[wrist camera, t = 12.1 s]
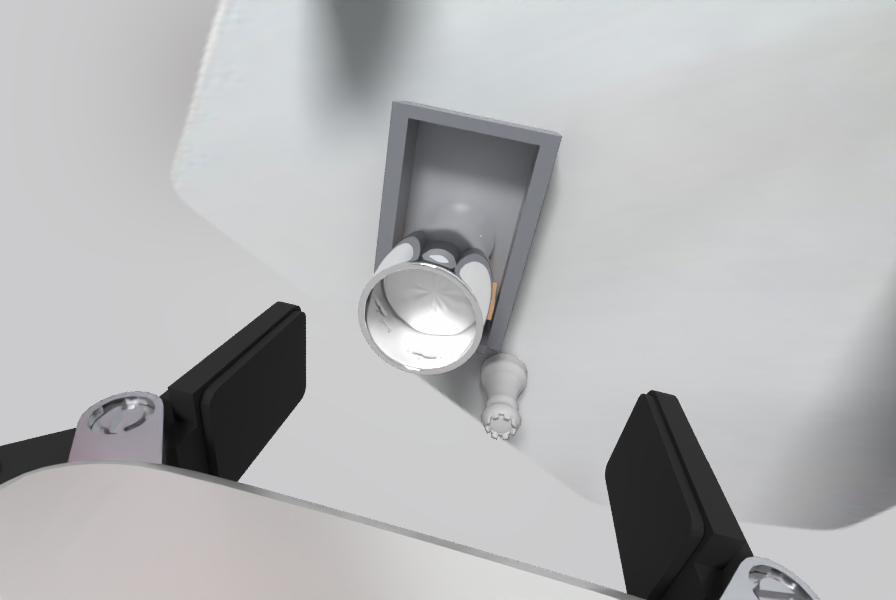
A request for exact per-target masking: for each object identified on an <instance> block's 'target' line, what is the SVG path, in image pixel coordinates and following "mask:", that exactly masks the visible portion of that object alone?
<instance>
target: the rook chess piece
mask: <svg viewBox="0 0 896 600" xmlns="http://www.w3.org/2000/svg"><path fill="white" fill-rule="evenodd" d="M526 381H527V369H526V366H525V364H524V363H523V362H522V361H521V360H520V359H519V358H518V357H515V356H513V355H511V354H502V353H500V354H496V355H492V356H490V357H489V358H488V359H486V360H485V361H484V363H483V365H482V367H481V382H482V385H483V387H484V389H485V390H486V392H487V393H488V400H487V402H486V404H485V410H484V411H483V413H482V415H481V421H482V424H483V426H484V427H485V430H486V432H487V433H490V432H491V433H492V435H491V437H492V438H494V439H497V438H498V436H502V438H503V440H507V439H509V435H510V434H511V435H512V436H514V435H515V433H516V431H517V430H518V428H519V427H520V425H521V417H520V415H519V413H518V404H517V402H516V401H517V396H518V395H519V394H520V393H521V392H522V391H523V389H524V387H525V386H526Z"/></svg>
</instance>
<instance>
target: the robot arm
mask: <svg viewBox="0 0 896 600" xmlns="http://www.w3.org/2000/svg"><path fill="white" fill-rule="evenodd" d="M305 389H306V315H305V313H304V312H301V309H300V307H299V306H296V305H293V304H288V303H284V302H276V303H275V304H274V305H272V306H271V307H270V308H269V309H267V310H266V311H265V312H264V313H262V314H261V315H260V316H258V317H257V318H256V319H254V320H253V321H252V322H251V323H249V324H248V325H247V326H246V327H244V328H243V329H242V330H241V331H239V332H238V333H237V334H235V335H234V336H233V337H232V338H230V339H229V340H228V341H227V342H225V343H224V344H223V345H221V346H220V347H219V348H218V349H216V350H215V351H214V352H213V353H211V354H210V355H209V356H207V357H206V358H205V359H204V360H202V361H201V362H200V363H199V364H197V365H196V366H195V367H193V368H192V369H191V370H190V371H188V372H187V373H186V374H184V375H183V376H182V377H181V378H179V379H178V380H177V381H176V382H174V383H173V384H172V385H170V386H169V387H168V390H167V391H166V392H165V393H164V394H162V395H161V396H160V397H158V396H157V395H155V394H152V393H149V392H140V391H135V392H125V393H121V394H117V395H113V396H111V397H108V398H106V399H104V400H101V401H99V402H98V403H96V404H94V405H93V406H91V407H90V408H89V409H88V410H87V411H86V412H85V413H83V414H82V416H81V418H80V420H79V422H78V424H77V428H74V429H69V430H65V431H61V432H57V433H53V434H48V435H44V436H40V437H36V438H32V439H28V440H24V441H19V442H15V443H11V444H7V445H3V446H0V600H820V599H819V597H818V596H817V595H816V594H815V593H814V592H813V591H812V590H811V589H810V587H809V586H808V585H807V584H806V583H804V582H803V581H802V580H801V579H800V578H799V577H798V576H796V575H795V574H794V573H793V572H791V571H789V570H788V569H786V568H785V567H783V566H782V565H780V564H778V563H776V562H773V561H771V560H769V559H766V558H760V557H754V556H753V553H752V551H751V549H750V547H749V545H748V543H747V541H746V539H745V537H744V535H743V533H742V531H741V529H740V527H739V525H738V522H737V520H736V518H735V516H734V514H733V512H732V510H731V508H730V506H729V504H728V502H727V500H726V498H725V496H724V493H723V491H722V489H721V487H720V485H719V483H718V481H717V479H716V477H715V475H714V473H713V471H712V469H711V467H710V464H709V462H708V461H707V459H706V457H705V455H704V453H703V451H702V449H701V447H700V445H699V443H698V441H697V438H696V436H695V434H694V432H693V430H692V428H691V426H690V424H689V422H688V420H687V418H686V416H685V414H684V412H683V409H682V407H681V405H680V403H679V401H678V399H677V398H676V396H674V395H670V394H666V393H662V392H658V391H654V390H651V391H649V392H648V393H647V394H641V395H640V396H639V398H638V400H637V402H636V404H635V407H634V409H633V411H632V413H631V415H630V417H629V419H628V421H627V423H626V425H625V427H624V430H623V432H622V434H621V436H620V438H619V440H618V442H617V444H616V446H615V448H614V451H613V453H612V455H611V457H610V459H609V461H608V463H607V466H606V470H605V479H606V485H607V490H608V495H609V501H610V506H611V511H612V516H613V522H614V527H615V532H616V537H617V543H618V548H619V553H620V558H621V564H622V569H623V574H624V579H625V585H626V590H627V594H626V593H623V592H619V591H616V590H613V589H610V588H607V587H603V586H600V585H597V584H594V583H591V582H587V581H584V580H581V579H577V578H574V577H570V576H567V575H563V574H560V573H556V572H553V571H550V570H546V569H543V568H539V567H536V566H532V565H529V564H525V563H522V562H519V561H515V560H512V559H508V558H505V557H501V556H498V555H494V554H491V553H488V552H484V551H481V550H477V549H474V548H471V547H467V546H464V545H460V544H456V543H453V542H449V541H446V540H442V539H439V538H435V537H432V536H429V535H425V534H421V533H418V532H415V531H411V530H408V529H404V528H401V527H397V526H394V525H390V524H386V523H382V522H379V521H376V520H372V519H369V518H365V517H362V516H358V515H355V514H351V513H347V512H344V511H340V510H337V509H333V508H330V507H326V506H323V505H319V504H315V503H312V502H308V501H305V500H301V499H297V498H294V497H290V496H287V495H283V494H280V493H275V492H272V491H269V490H265V489H262V488H258V487H254V486H251V485H247V484H243V483H239V482H238V480H239V479H240V478H241V476H242V475H243V474H244V473H245V471H246V470H247V469H248V467H249V466H250V465H251V463H252V462H253V461H254V460H255V458H256V457H257V456H258V455H259V453H260V452H261V451H262V449H263V448H264V447H265V445H266V444H267V443H268V441H269V440H270V439H271V438H272V436H273V435H274V434H275V433H276V431H277V430H278V429H279V427H280V426H281V425H282V424H283V422H284V421H285V420H286V419H287V417H288V416H289V415H290V413H291V412H292V411H293V410H294V408H295V407H296V406H297V404H298V403H299V402H300V401H301V399H302V398H303V395H304V393H305Z"/></svg>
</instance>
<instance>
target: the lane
mask: <svg viewBox="0 0 896 600" xmlns="http://www.w3.org/2000/svg"><path fill="white" fill-rule="evenodd" d="M561 138H562V136H561V135H559V134H558V133H557V132H552V131H547V130H542V129H537V128H533V127H528V126H523V125H518V124H513V123H509V122H504V121H499V120H494V119H489V118H484V117H480V116H475V115H470V114H465V113H460V112H456V111H451V110H446V109H441V108H436V107H432V106H427V105H422V104H417V103H412V102H408V101H393V102H392V111H391V120H390V129H389V139H388V148H387V157H386V166H385V175H384V185H383V194H382V203H381V212H380V222H379V231H378V240H377V249H376V258H375V268H374V273H375V272H376V270H377V268H378V267H379V265H380V264H381V262H382V261H383V260H384V258H385V257H386V256H387V254H388V253H389V252H390V251H391V250H392V249H393V248H394V247H395V246H396V245H397V244H398V243H399V242H400V241H401V240H402V239H403V238H405V237H406V236H408V235H410V234H411V233H413V232H414V231H416V230H418V229H420V228H423V226H424V223H425V221H426V219H427V217H428V216H429V215H430V213H431V212H432V211H433V210H434V209H436V208H437V207H439V206H440V205H443V204H445V203H448V202H455V201H459V202H466V203H469V204H472V205H474V206H476V207H478V208H479V209H480V210H482V211H483V212H484V213H485V214H486V215H487V217H488V218H489V220H490V221H491V224H492V226H493V229H494V235H495V242H494V247H493V250H492V253H491V255H490V257H489V261H490V264H491V270H492V277H493V282H495V283H497V288H496V296H495V304H494V310H493V314H492V318H491V320H488V319H487V320H486V323H485V326H484V329H483V332H482V337H481V340H480V343H479V345H478V347H477V349H476V351H475V352H477V353H481V354H485V353H486V349H487V348H489V349H493V350H497V351H500V350H501V346H502V343H503V339H504V336H505V333H506V329H507V326H508V322H509V319H510V315H511V312H512V308H513V305H514V301H515V298H516V294H517V291H518V287H519V284H520V280H521V277H522V274H523V270H524V267H525V263H526V260H527V256H528V253H529V249H530V246H531V242H532V239H533V235H534V232H535V228H536V225H537V221H538V218H539V215H540V211H541V208H542V204H543V201H544V197H545V194H546V190H547V187H548V183H549V180H550V176H551V173H552V169H553V166H554V162H555V159H556V156H557V152H558V149H559V145H560V142H561Z"/></svg>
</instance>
